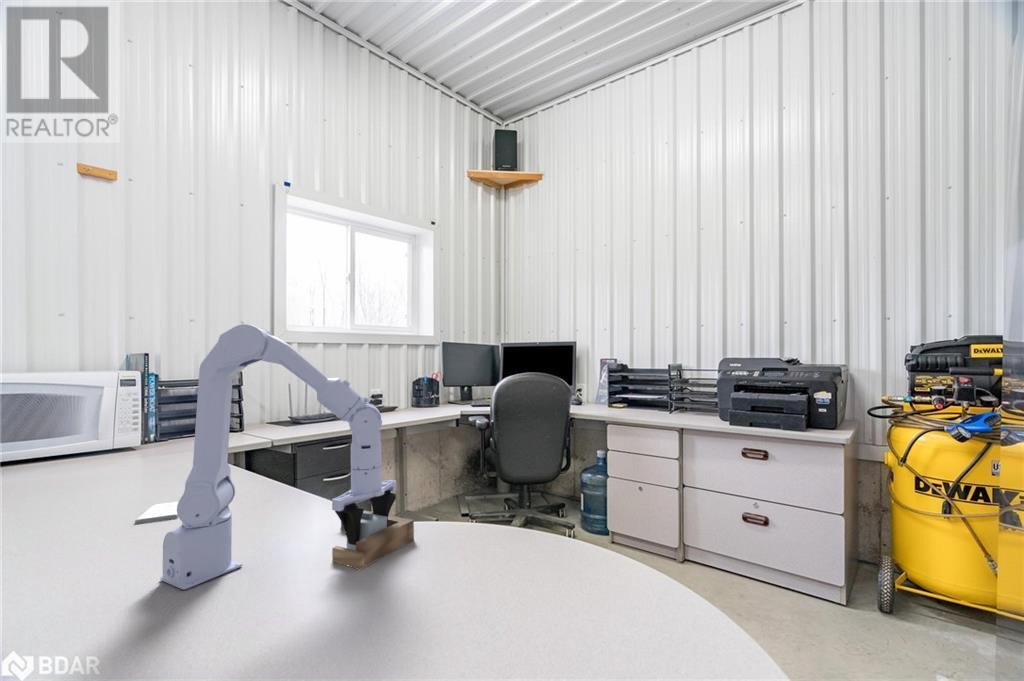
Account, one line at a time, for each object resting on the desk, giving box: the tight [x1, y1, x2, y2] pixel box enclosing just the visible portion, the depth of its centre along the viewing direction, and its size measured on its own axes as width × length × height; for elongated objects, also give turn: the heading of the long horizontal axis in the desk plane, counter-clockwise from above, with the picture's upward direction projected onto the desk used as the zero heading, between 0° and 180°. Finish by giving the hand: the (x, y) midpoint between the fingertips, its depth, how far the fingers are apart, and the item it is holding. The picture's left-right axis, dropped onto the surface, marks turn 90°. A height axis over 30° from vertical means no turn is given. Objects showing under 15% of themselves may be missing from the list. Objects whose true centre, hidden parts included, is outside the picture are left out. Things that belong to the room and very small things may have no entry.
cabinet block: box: [346, 510, 387, 551], centre depth 86 cm, size 4×6×7 cm
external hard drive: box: [134, 501, 179, 525], centre depth 110 cm, size 2×8×12 cm
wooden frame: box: [331, 509, 415, 570], centre depth 88 cm, size 14×19×4 cm
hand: (366, 537), depth 86 cm, fingers open, 6 cm apart
